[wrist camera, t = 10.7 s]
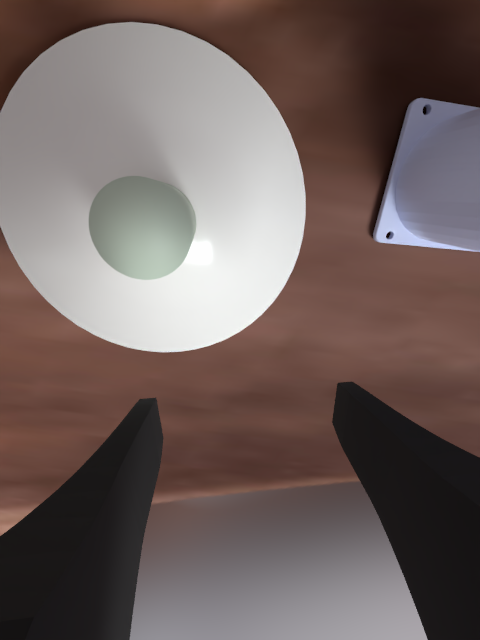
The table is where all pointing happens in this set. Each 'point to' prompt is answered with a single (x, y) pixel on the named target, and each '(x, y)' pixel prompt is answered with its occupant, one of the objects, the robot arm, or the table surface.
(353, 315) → the table surface
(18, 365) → the table surface
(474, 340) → the table surface
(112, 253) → the green cylinder
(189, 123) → the white plate
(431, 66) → the table surface
